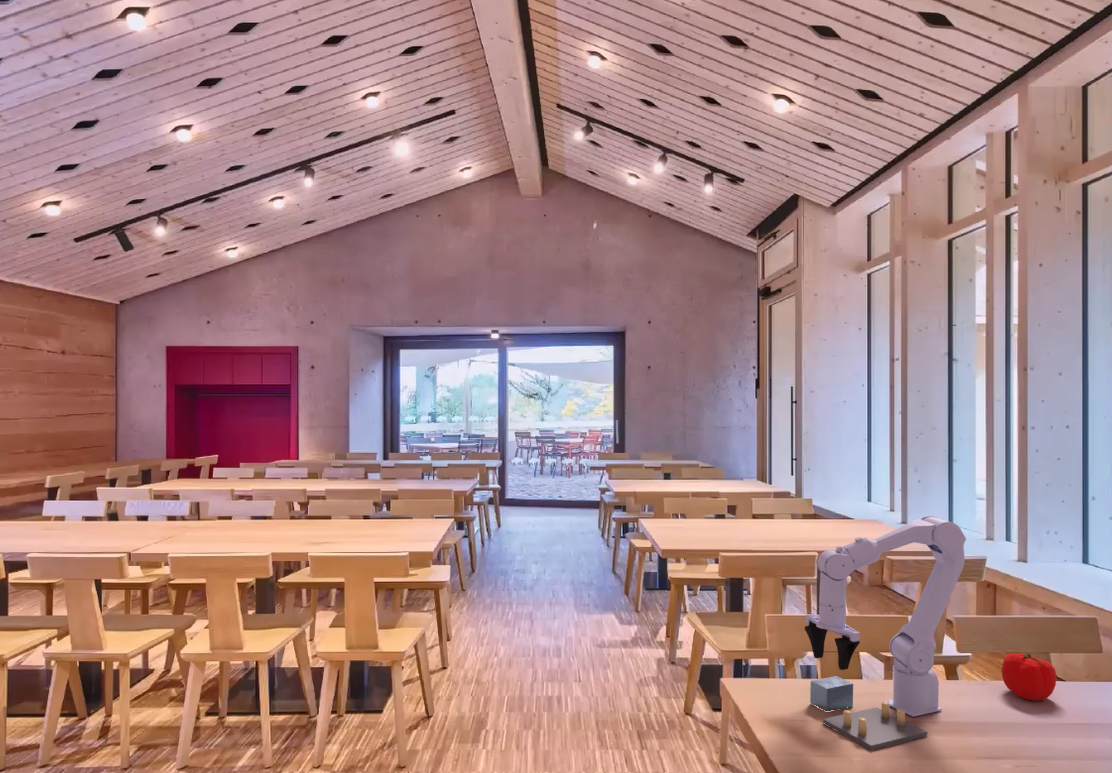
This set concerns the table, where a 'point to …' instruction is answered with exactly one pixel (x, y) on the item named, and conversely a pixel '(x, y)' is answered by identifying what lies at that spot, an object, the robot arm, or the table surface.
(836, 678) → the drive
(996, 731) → the table surface
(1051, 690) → the tomato
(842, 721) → the grey pegged base plate
